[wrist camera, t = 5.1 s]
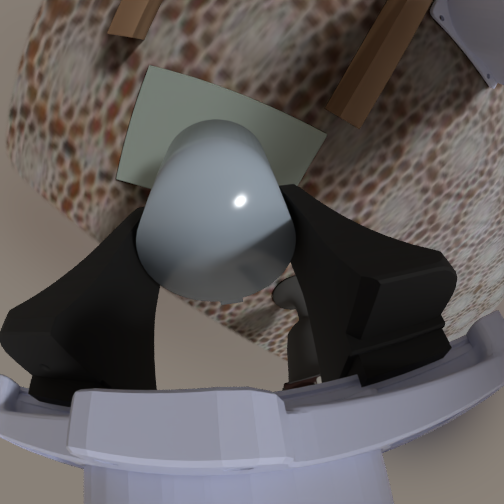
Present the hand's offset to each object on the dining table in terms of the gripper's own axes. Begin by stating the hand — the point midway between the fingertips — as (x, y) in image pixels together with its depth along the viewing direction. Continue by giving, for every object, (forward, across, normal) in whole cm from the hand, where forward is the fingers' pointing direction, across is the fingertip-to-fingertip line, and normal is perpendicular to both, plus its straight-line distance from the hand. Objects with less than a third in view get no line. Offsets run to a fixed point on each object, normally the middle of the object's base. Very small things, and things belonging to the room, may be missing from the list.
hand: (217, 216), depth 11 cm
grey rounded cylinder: (+3, 0, -1) cm, 3 cm away
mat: (+8, 0, 0) cm, 8 cm away
